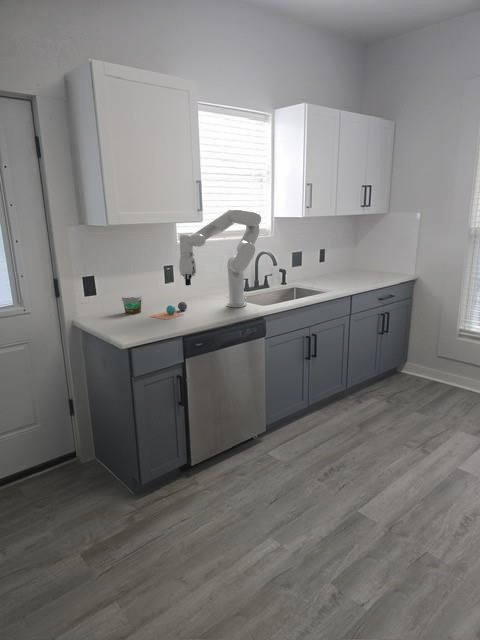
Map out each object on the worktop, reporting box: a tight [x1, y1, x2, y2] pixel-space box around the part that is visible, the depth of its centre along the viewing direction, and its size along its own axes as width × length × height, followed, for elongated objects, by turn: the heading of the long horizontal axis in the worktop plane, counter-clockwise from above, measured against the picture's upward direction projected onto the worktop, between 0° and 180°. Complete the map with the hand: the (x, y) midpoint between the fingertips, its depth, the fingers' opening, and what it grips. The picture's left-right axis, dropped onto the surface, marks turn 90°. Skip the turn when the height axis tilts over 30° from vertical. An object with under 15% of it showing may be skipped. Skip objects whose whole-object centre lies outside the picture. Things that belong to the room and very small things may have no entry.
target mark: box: [149, 310, 184, 320], centre depth 254 cm, size 14×14×1 cm
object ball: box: [165, 304, 177, 314], centre depth 256 cm, size 6×6×6 cm
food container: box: [121, 296, 143, 315], centre depth 260 cm, size 12×6×10 cm, turn 92°
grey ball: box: [177, 301, 188, 312], centre depth 265 cm, size 6×6×6 cm
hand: (188, 285), depth 266 cm, fingers closed
